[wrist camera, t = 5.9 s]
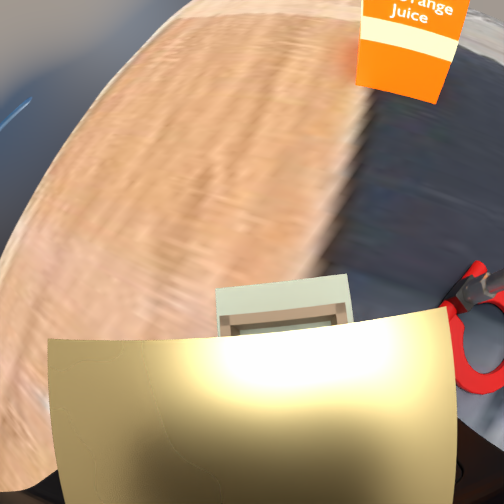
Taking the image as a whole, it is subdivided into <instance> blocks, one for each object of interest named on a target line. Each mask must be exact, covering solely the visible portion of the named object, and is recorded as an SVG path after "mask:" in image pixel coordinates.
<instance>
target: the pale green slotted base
mask: <svg viewBox="0 0 504 504" xmlns="http://www.w3.org/2000/svg"><path fill="white" fill-rule="evenodd" d="M215 291H216V312H217V330H218V337H230V336H243V335H255V334H266V333H277V332H286V331H295V330H304V329H313V328H321V327H328V326H336V325H343V324H350V323H354V321H353V314H352V306H351V299H350V292H349V286H348V279H347V274H340V275H333V276H325V277H316V278H308V279H300V280H291V281H283V282H274V283H265V284H256V285H246V286H236V287H227V288H216V289H215Z"/></svg>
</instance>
